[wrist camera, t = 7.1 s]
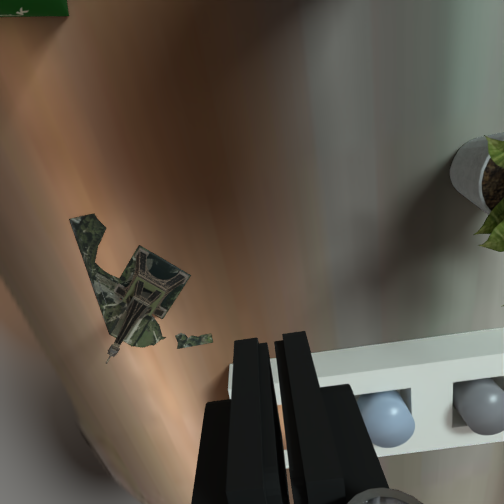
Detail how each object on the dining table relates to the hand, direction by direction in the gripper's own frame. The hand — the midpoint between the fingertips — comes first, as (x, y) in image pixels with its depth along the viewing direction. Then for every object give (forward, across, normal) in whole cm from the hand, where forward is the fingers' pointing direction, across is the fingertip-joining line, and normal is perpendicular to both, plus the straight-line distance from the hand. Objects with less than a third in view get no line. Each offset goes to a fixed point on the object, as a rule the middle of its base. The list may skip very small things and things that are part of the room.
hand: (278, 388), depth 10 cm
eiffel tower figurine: (+27, +12, +7) cm, 30 cm away
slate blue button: (+24, -9, +22) cm, 34 cm away
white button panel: (+26, -9, +22) cm, 36 cm away
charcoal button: (+24, -18, +22) cm, 37 cm away
